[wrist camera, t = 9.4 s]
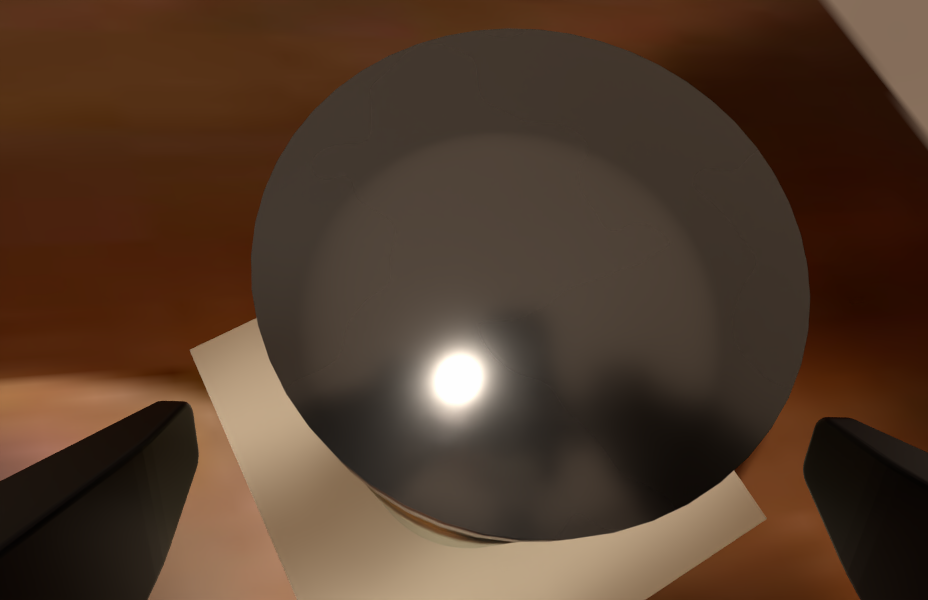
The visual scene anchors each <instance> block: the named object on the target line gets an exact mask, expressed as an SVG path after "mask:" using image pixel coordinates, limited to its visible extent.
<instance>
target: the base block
mask: <svg viewBox="0 0 928 600" xmlns="http://www.w3.org/2000/svg"><path fill="white" fill-rule="evenodd" d="M190 352H191V354H192V356H193V359H194V361H195V363H196V366H197V368H198V370H199V373H200V375H201V377H202V380H203V382H204V384H205V387H206V389H207V391H208V394H209V396H210V398H211V401H212V403H213V405H214V408H215V410H216V412H217V415H218V417H219V419H220V422H221V424H222V426H223V429H224V431H225V433H226V436H227V438H228V440H229V443H230V445H231V447H232V450H233V452H234V454H235V457H236V459H237V461H238V463H239V466H240V468H241V470H242V473H243V475H244V477H245V480H246V482H247V484H248V487H249V489H250V491H251V494H252V496H253V498H254V501H255V503H256V505H257V508H258V510H259V512H260V515H261V517H262V519H263V522H264V524H265V526H266V529H267V531H268V533H269V536H270V538H271V540H272V543H273V545H274V547H275V550H276V552H277V554H278V557H279V559H280V561H281V564H282V566H283V568H284V571H285V573H286V575H287V578H288V580H289V582H290V585H291V587H292V589H293V592H294V594H295V596H296V598H297V600H646V599H647V598H649V597H650V596H652V595H653V594H655V593H656V592H658V591H659V590H661V589H662V588H664V587H665V586H667V585H668V584H670V583H671V582H673V581H674V580H676V579H677V578H679V577H680V576H682V575H683V574H685V573H686V572H688V571H689V570H691V569H692V568H694V567H695V566H697V565H698V564H700V563H701V562H703V561H704V560H706V559H707V558H709V557H710V556H712V555H713V554H715V553H716V552H718V551H719V550H721V549H722V548H724V547H725V546H727V545H728V544H730V543H731V542H733V541H734V540H736V539H737V538H739V537H740V536H742V535H743V534H745V533H746V532H748V531H749V530H751V529H752V528H754V527H755V526H757V525H758V524H760V523H761V522H763V521H764V520H766V519H767V518H766V517H765V515H764V514H763V512H762V511H761V509H760V508H759V506H758V505H757V503H756V502H755V500H754V499H753V497H752V496H751V495H750V493H749V492H748V490H747V489H746V487H745V486H744V484H743V483H742V481H741V480H740V478H739V477H738V475H737V474H736V472H735V471H733V472H732V473H731V474H729V475H728V476H727V477H726V478H725V479H724V480H723V481H722V482H721V483H719V484H718V485H716V486H715V487H713V488H712V489H710V490H709V491H707V492H706V493H704V494H703V495H701V496H700V497H698V498H697V499H695V500H694V501H692V502H691V503H689V504H688V505H686V506H683V507H681V508H679V509H677V510H675V511H673V512H671V513H669V514H667V515H664V516H662V517H660V518H658V519H656V520H654V521H651V522H648V523H645V524H641V525H638V526H635V527H631V528H628V529H625V530H621V531H618V532H615V533H610V534H603V535H596V536H589V537H583V538H576V539H569V540H560V541H552V542H515V543H508V544H502V545H495V546H489V547H482V548H456V547H449V546H445V545H441V544H438V543H434V542H432V541H429V540H427V539H425V538H422V537H420V536H418V535H417V534H415V533H414V532H412V531H410V530H409V529H407V528H406V527H405V526H403V525H402V524H401V523H400V522H399V521H397V520H396V519H395V518H394V517H393V516H392V515H391V513H390V512H389V511H388V510H387V509H386V508H385V507H384V506H383V505H382V503H381V502H380V501H379V500H378V499H377V498H376V496H375V495H374V494H373V493H372V492H371V490H370V489H369V488H368V487H367V486H366V485H365V483H363V482H362V481H361V480H360V479H358V478H357V477H356V476H355V475H354V474H352V473H351V472H350V471H349V470H348V469H347V468H346V467H345V466H344V465H343V463H342V462H341V461H340V460H339V459H338V458H337V457H336V456H335V455H334V454H333V453H332V452H331V450H330V449H329V448H328V447H327V446H326V445H325V444H324V443H323V442H322V441H321V440H320V438H319V437H318V436H317V435H316V434H315V433H314V432H313V431H312V430H311V429H310V427H309V426H308V425H307V423H306V422H305V421H304V419H303V418H302V416H301V415H300V413H299V412H298V410H297V409H296V408H295V406H294V405H293V403H292V402H291V400H290V399H289V397H288V396H287V394H286V393H285V391H284V389H283V387H282V385H281V382H280V380H279V378H278V376H277V374H276V372H275V370H274V368H273V366H272V364H271V362H270V360H269V357H268V354H267V351H266V348H265V345H264V342H263V339H262V336H261V333H260V330H259V327H258V322H257V318H256V319H254V320H252V321H250V322H248V323H246V324H243V325H241V326H239V327H237V328H235V329H233V330H231V331H229V332H227V333H224V334H222V335H220V336H218V337H216V338H214V339H212V340H210V341H208V342H205V343H203V344H201V345H199V346H197V347H195V348H193V349H191V350H190Z"/></svg>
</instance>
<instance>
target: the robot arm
mask: <svg viewBox="0 0 928 600" xmlns="http://www.w3.org/2000/svg"><path fill="white" fill-rule="evenodd" d="M198 457H199V452H198V444H197V437H196V430H195V423H194V416H193V410H192V408H191V406H190V405H189V404H188V403H187V402H183V401H158V402H156V403H154V404H152V405H150V406H148V407H146V408H144V409H142V410H140V411H138V412H136V413H134V414H132V415H130V416H128V417H126V418H124V419H122V420H120V421H118V422H116V423H114V424H112V425H110V426H108V427H106V428H104V429H102V430H100V431H98V432H96V433H95V434H93V435H91V436H89V437H87V438H85V439H83V440H81V441H79V442H77V443H75V444H73V445H71V446H69V447H67V448H65V449H63V450H61V451H59V452H57V453H55V454H53V455H51V456H49V457H47V458H45V459H43V460H41V461H39V462H37V463H35V464H33V465H31V466H29V467H27V468H26V469H24V470H22V471H20V472H18V473H16V474H14V475H12V476H10V477H8V478H6V479H4V480H2V481H0V600H148V598H149V596H150V593H151V591H152V589H153V587H154V585H155V583H156V581H157V578H158V576H159V574H160V572H161V569H162V567H163V565H164V562H165V559H166V557H167V554H168V551H169V549H170V546H171V543H172V540H173V537H174V534H175V531H176V528H177V525H178V522H179V519H180V516H181V513H182V510H183V507H184V504H185V501H186V498H187V495H188V492H189V489H190V486H191V483H192V480H193V477H194V474H195V471H196V468H197V464H198ZM803 473H804V478H805V481H806V484H807V486H808V488H809V491H810V493H811V495H812V498H813V500H814V502H815V504H816V507H817V509H818V511H819V514H820V516H821V518H822V520H823V523H824V525H825V527H826V529H827V532H828V534H829V536H830V539H831V541H832V543H833V545H834V548H835V550H836V552H837V555H838V557H839V559H840V561H841V563H842V565H843V567H844V570H845V572H846V574H847V576H848V578H849V580H850V581H851V583H852V585H853V587H854V589H855V591H856V593H857V594H858V596H859V598H860V600H928V453H927V452H925V451H923V450H920V449H918V448H916V447H914V446H912V445H909V444H907V443H905V442H903V441H901V440H898V439H896V438H894V437H892V436H890V435H887V434H885V433H883V432H881V431H879V430H876V429H874V428H872V427H870V426H868V425H865V424H863V423H861V422H859V421H857V420H854V419H852V418H840V417H825V418H822V419H820V420H819V421H818V422H817V423H816V426H815V428H814V431H813V434H812V438H811V441H810V444H809V447H808V451H807V454H806V457H805V460H804V465H803Z"/></svg>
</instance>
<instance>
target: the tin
mask: <svg viewBox="0 0 928 600" xmlns="http://www.w3.org/2000/svg"><path fill="white" fill-rule="evenodd" d="M251 266H252V293H253V299H254V305H255V311H256V316H257V322H258V327H259V330H260V333H261V336H262V339H263V342H264V345H265V348H266V351H267V354H268V357H269V360H270V362H271V364H272V366H273V368H274V370H275V372H276V374H277V376H278V378H279V380H280V382H281V385H282V387H283V389H284V391H285V393H286V394H287V396H288V397H289V399H290V400H291V402H292V403H293V405H294V406H295V408H296V409H297V410H298V412H299V413H300V415H301V416H302V418H303V419H304V421H305V422H306V423H307V425H308V426H309V427H310V429H311V430H312V431H313V432H314V433H315V434H316V435H317V436H318V437H319V438H320V440H321V441H322V442H323V443H324V444H325V445H326V446H327V447H328V448H329V449H330V450H331V452H332V453H333V454H334V455H335V456H336V457H337V458H338V459H339V460H340V461H341V462H342V463H343V465H344V466H345V467H346V468H347V469H348V470H349V471H350V472H351V473H352V474H354V475H355V476H356V477H357V478H358V479H360V480H361V481H362V482H363V483H365V485H366V486H367V487H368V488H369V489H370V490H371V492H372V493H373V494H374V495H375V496H376V498H377V499H378V500H379V501H380V502H381V503H382V505H383V506H384V507H385V508H386V509H387V510H388V511H389V512H390V513H391V515H392V516H393V517H394V518H395V519H396V520H397V521H399V522H400V523H401V524H402V525H403V526H405V527H406V528H407V529H409V530H410V531H412V532H414V533H415V534H417V535H418V536H420V537H422V538H425V539H427V540H429V541H432V542H434V543H438V544H441V545H445V546H449V547H456V548H482V547H489V546H495V545H502V544H508V543H515V542H552V541H560V540H569V539H576V538H583V537H589V536H596V535H603V534H610V533H615V532H618V531H621V530H625V529H628V528H631V527H635V526H638V525H641V524H645V523H648V522H651V521H654V520H656V519H658V518H660V517H662V516H664V515H667V514H669V513H671V512H673V511H675V510H677V509H679V508H681V507H683V506H686V505H688V504H689V503H691V502H692V501H694V500H695V499H697V498H698V497H700V496H701V495H703V494H704V493H706V492H707V491H709V490H710V489H712V488H713V487H715V486H716V485H718V484H719V483H721V482H722V481H723V480H724V479H725V478H726V477H727V476H728V475H729V474H731V473H732V472H733V471H734V470H735V469H736V468H737V467H738V466H739V465H740V464H741V463H742V462H744V461H745V460H746V459H747V458H748V457H749V456H750V454H751V453H752V452H753V451H754V449H755V448H756V447H757V446H758V444H759V443H760V442H761V441H762V439H763V438H764V437H765V435H766V434H767V433H768V432H769V430H770V429H771V428H772V426H773V424H774V422H775V421H776V419H777V417H778V415H779V414H780V412H781V410H782V408H783V407H784V405H785V403H786V401H787V399H788V398H789V395H790V393H791V390H792V387H793V385H794V382H795V379H796V377H797V374H798V371H799V369H800V366H801V362H802V358H803V353H804V348H805V344H806V339H807V334H808V324H809V308H810V291H809V278H808V266H807V261H806V256H805V252H804V247H803V243H802V238H801V234H800V231H799V228H798V225H797V223H796V220H795V217H794V214H793V212H792V209H791V206H790V203H789V201H788V199H787V197H786V195H785V193H784V191H783V190H782V188H781V186H780V184H779V182H778V180H777V178H776V176H775V174H774V172H773V171H772V169H771V168H770V166H769V165H768V164H767V162H766V161H765V159H764V158H763V156H762V155H761V153H760V152H759V150H758V149H757V147H756V146H755V145H754V144H753V143H752V141H751V140H750V139H749V138H748V137H747V136H746V134H745V133H744V132H743V131H742V130H741V129H740V127H739V126H738V125H737V124H736V123H735V122H734V121H733V120H732V119H731V118H730V117H729V116H728V115H727V114H726V113H725V112H724V111H722V110H721V109H720V108H719V107H718V106H717V105H716V104H715V103H714V102H713V101H712V100H710V99H709V98H708V97H706V96H705V95H704V94H702V93H701V92H700V91H698V90H697V89H696V88H694V87H693V86H692V85H690V84H689V83H688V82H686V81H685V80H683V79H681V78H680V77H678V76H676V75H675V74H673V73H671V72H670V71H668V70H666V69H665V68H663V67H661V66H660V65H658V64H656V63H653V62H651V61H649V60H647V59H645V58H643V57H641V56H638V55H636V54H634V53H632V52H630V51H627V50H624V49H621V48H618V47H615V46H613V45H610V44H607V43H604V42H601V41H597V40H593V39H589V38H585V37H581V36H577V35H572V34H567V33H560V32H552V31H545V30H534V29H494V30H479V31H472V32H466V33H460V34H455V35H449V36H444V37H441V38H438V39H434V40H431V41H427V42H424V43H420V44H417V45H414V46H412V47H409V48H407V49H405V50H402V51H400V52H397V53H395V54H392V55H390V56H388V57H386V58H384V59H382V60H381V61H379V62H377V63H375V64H373V65H372V66H370V67H368V68H366V69H364V70H363V71H361V72H360V73H358V74H357V75H355V76H354V77H353V78H351V79H350V80H348V81H347V82H346V83H344V84H343V85H342V86H340V87H339V88H337V89H336V90H335V91H334V92H333V93H332V94H331V95H330V96H329V97H328V98H326V99H325V100H324V101H323V102H322V103H321V104H320V105H319V106H318V107H317V108H316V109H315V110H314V111H313V112H312V113H311V114H310V116H309V117H308V118H307V119H306V120H305V122H304V123H303V124H302V125H301V126H300V128H299V129H298V130H297V131H296V133H295V134H294V135H293V137H292V138H291V140H290V142H289V143H288V145H287V146H286V148H285V150H284V151H283V153H282V155H281V156H280V158H279V159H278V161H277V163H276V165H275V168H274V170H273V172H272V174H271V177H270V179H269V181H268V184H267V186H266V188H265V190H264V194H263V197H262V201H261V204H260V208H259V212H258V215H257V219H256V222H255V230H254V238H253V246H252V254H251Z"/></svg>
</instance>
